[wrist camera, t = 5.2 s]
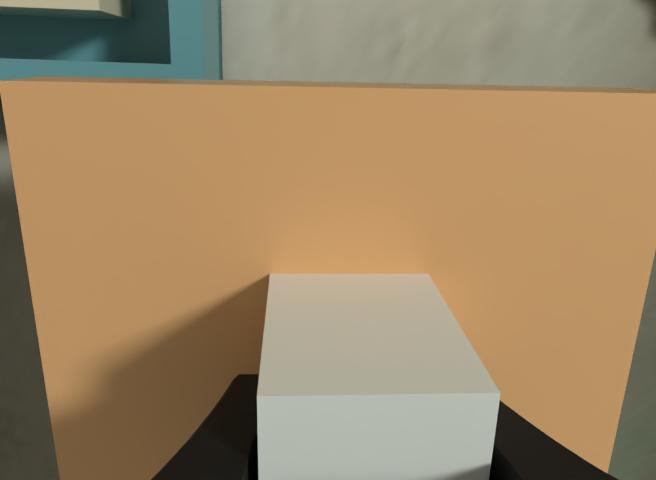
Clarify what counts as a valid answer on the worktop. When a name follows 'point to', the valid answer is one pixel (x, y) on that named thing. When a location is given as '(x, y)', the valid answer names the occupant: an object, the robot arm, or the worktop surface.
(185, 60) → the box
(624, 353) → the lid
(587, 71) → the worktop surface
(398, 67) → the worktop surface
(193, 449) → the robot arm
